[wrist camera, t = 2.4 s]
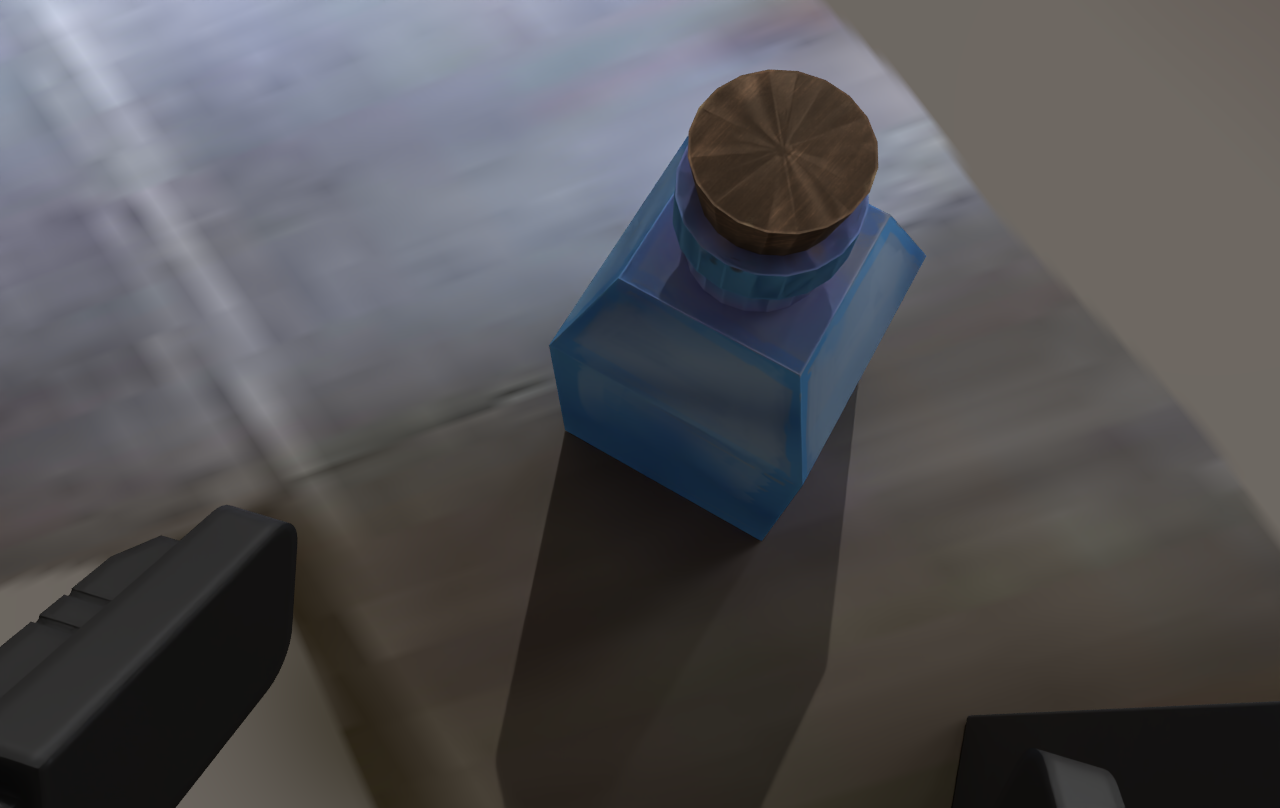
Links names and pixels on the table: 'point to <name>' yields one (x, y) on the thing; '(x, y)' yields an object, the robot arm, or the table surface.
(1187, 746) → the coffee maker
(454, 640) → the table surface
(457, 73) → the table surface
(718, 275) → the perfume bottle
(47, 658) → the robot arm
